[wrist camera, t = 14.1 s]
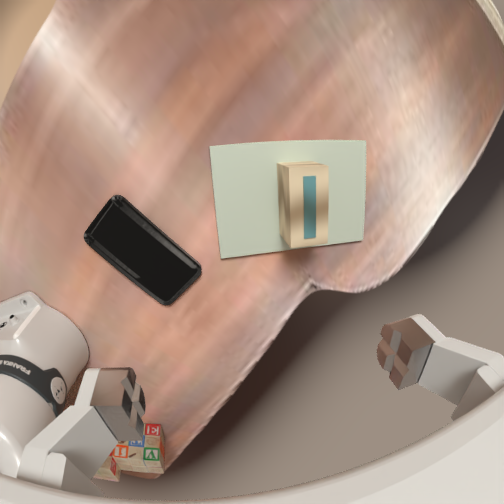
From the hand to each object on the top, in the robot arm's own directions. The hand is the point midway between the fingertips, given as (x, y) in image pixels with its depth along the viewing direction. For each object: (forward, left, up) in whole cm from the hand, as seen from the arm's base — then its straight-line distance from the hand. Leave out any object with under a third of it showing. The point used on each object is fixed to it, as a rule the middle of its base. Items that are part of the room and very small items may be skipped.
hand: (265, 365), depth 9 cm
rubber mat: (+10, -2, -29) cm, 31 cm away
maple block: (+10, -2, -28) cm, 30 cm away
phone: (-10, -7, -30) cm, 32 cm away
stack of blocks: (-27, -44, -29) cm, 60 cm away
